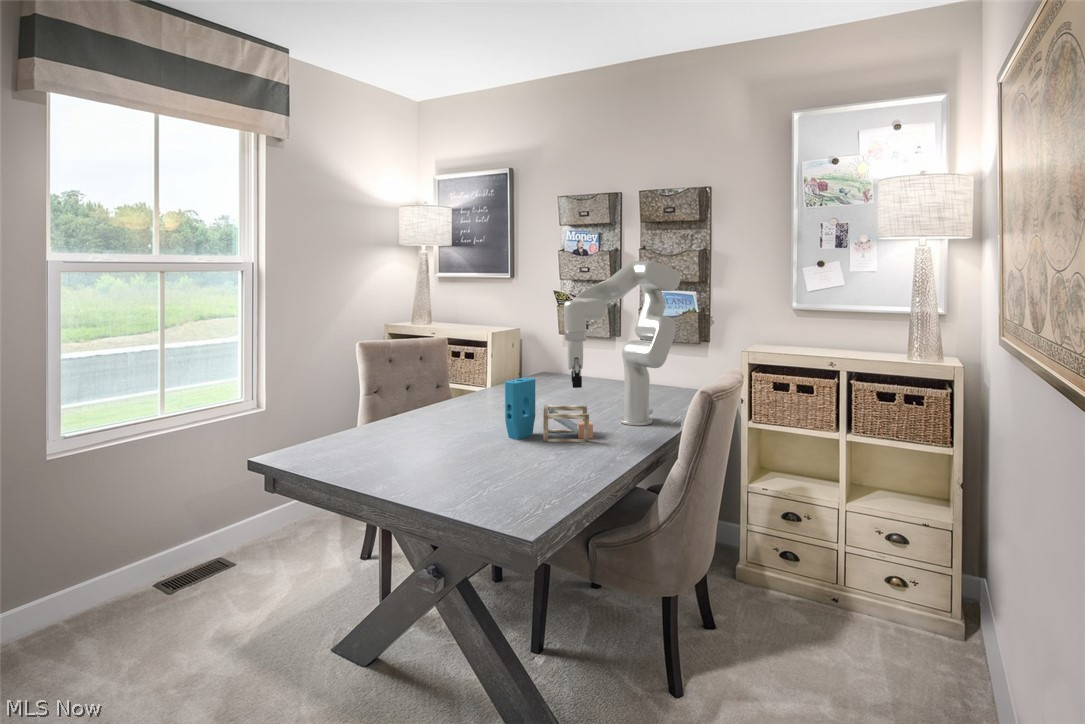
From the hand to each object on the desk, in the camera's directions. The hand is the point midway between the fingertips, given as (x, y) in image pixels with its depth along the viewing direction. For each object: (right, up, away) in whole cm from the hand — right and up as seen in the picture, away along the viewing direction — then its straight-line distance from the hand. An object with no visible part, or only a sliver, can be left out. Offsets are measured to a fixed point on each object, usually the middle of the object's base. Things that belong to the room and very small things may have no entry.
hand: (576, 384), depth 223 cm
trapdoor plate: (-5, -13, +1) cm, 14 cm away
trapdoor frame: (-4, -18, +2) cm, 19 cm away
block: (-20, -18, +2) cm, 27 cm away
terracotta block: (+1, -16, +2) cm, 16 cm away
